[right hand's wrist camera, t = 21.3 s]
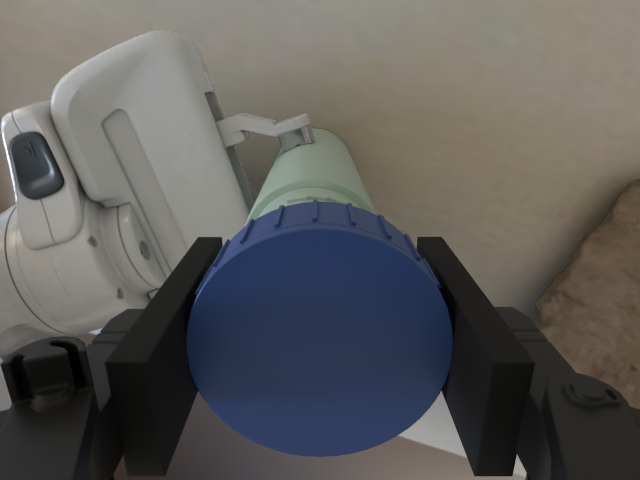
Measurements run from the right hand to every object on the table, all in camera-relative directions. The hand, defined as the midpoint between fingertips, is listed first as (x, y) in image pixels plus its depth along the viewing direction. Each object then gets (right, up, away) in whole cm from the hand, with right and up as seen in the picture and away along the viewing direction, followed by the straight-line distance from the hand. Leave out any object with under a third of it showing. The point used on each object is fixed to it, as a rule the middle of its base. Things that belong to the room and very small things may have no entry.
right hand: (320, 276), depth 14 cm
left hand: (0, +4, +11) cm, 12 cm away
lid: (0, -1, -4) cm, 4 cm away
